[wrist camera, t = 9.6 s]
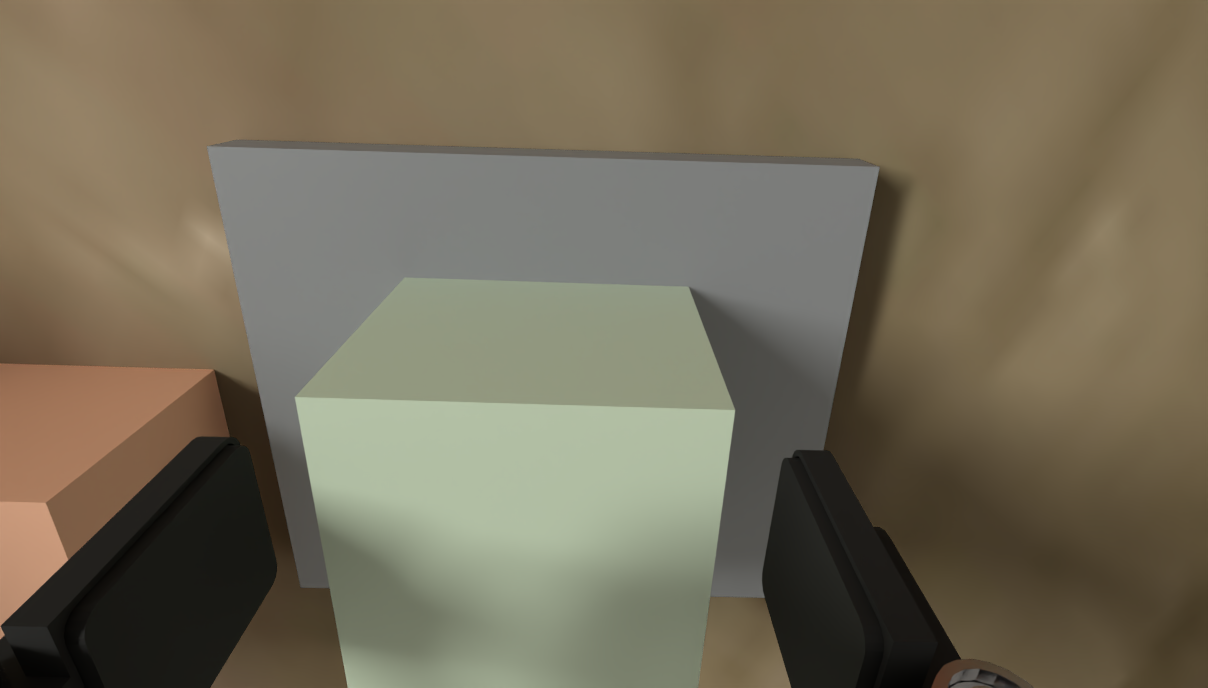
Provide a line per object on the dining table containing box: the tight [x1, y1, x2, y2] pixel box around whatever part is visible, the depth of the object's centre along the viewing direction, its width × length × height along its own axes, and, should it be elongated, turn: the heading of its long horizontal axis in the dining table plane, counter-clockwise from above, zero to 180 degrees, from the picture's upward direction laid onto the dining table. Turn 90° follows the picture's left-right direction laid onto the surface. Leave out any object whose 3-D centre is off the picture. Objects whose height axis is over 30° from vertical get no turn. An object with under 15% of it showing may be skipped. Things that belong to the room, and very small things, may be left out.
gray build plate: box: [207, 140, 880, 598], centre depth 16 cm, size 12×14×1 cm
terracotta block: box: [0, 363, 230, 639], centre depth 15 cm, size 6×6×6 cm
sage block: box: [295, 278, 735, 688], centre depth 13 cm, size 6×6×6 cm
